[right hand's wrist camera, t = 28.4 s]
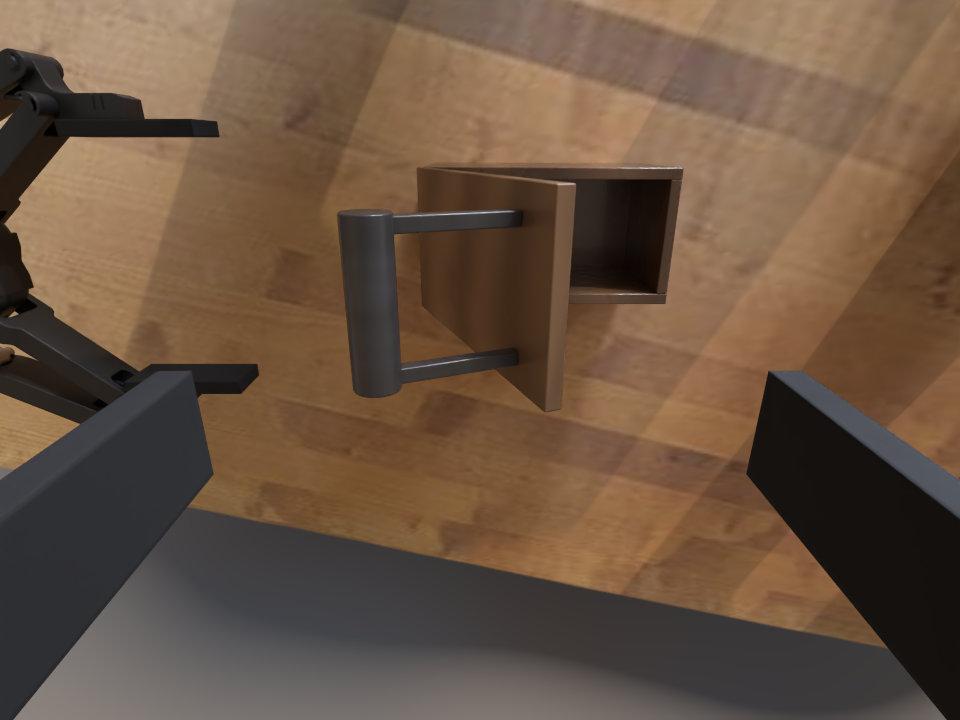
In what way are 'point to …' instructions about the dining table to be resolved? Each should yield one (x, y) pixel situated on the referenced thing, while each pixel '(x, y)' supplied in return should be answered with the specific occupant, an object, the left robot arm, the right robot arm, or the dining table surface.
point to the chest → (611, 225)
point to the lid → (466, 281)
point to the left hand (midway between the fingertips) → (230, 264)
